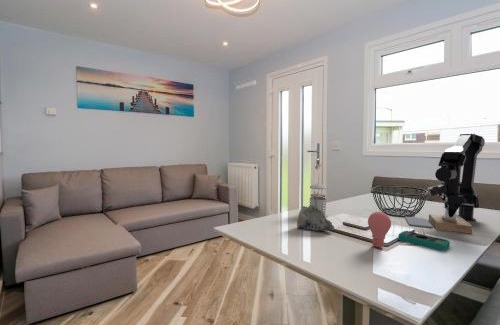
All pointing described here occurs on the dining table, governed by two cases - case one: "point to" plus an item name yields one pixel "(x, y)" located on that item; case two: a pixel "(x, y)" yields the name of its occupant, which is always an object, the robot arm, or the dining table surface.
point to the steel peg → (446, 215)
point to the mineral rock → (313, 219)
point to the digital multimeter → (424, 240)
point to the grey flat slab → (418, 222)
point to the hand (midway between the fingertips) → (449, 215)
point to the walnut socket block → (450, 224)
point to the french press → (318, 197)
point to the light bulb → (379, 227)
